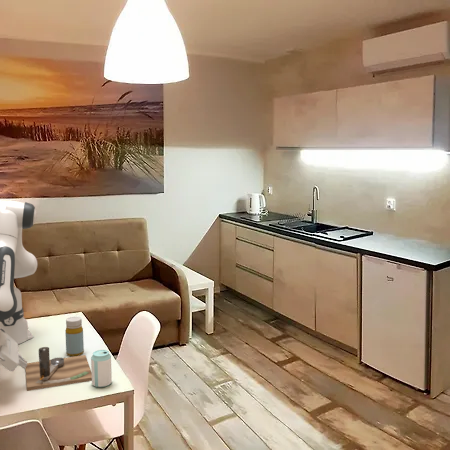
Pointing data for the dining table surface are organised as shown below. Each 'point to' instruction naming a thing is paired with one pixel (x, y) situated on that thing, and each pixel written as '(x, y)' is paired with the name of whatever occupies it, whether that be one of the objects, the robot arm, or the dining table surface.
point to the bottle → (74, 336)
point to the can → (101, 368)
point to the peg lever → (48, 363)
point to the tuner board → (59, 373)
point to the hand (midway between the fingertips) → (26, 365)
